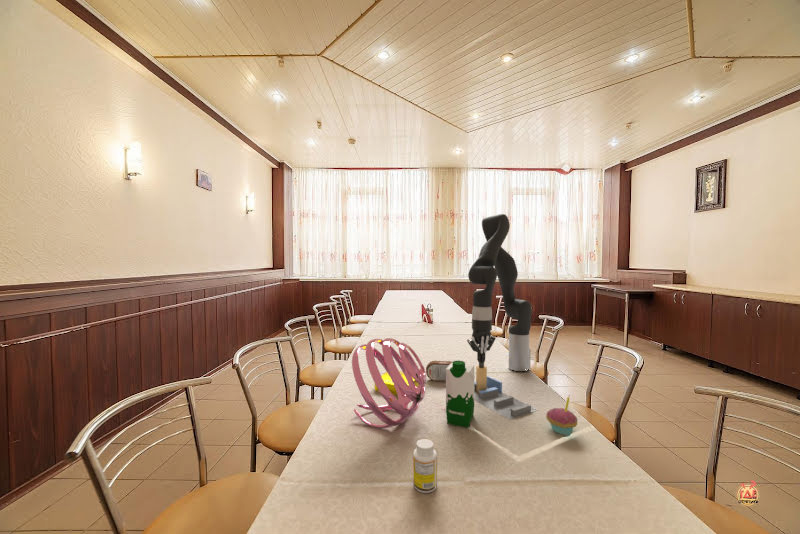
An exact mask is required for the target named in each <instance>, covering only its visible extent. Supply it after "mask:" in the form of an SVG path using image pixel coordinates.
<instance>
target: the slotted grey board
mask: <svg viewBox="0 0 800 534" xmlns="http://www.w3.org/2000/svg"><path fill="white" fill-rule="evenodd" d="M474 402H477V403H479V404H480V405H482V406H484V407H486V408H488V409H489V410H491V411H493V412H494V413H496V414H498V415H500V416H501V417H504V418H506V419H507V420H509V421H511V420H514V419H517V418H520V417H523V416H526V415H528V414H531V413H534V412H537V411H539V409H538V408H535V407H534V406H532V405H531V404H529V403H525V402H523V401H521V400H519V399H517V398H514V396H513V395H508V394H506V393H504V392H503V382H502V381H500V380H498V379H496V378H493V377H491V376H489V375H487V389H485V390H482V391H479V394H477V393H476V381H474Z"/></svg>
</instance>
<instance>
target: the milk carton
mask: <svg viewBox="0 0 800 534" xmlns="http://www.w3.org/2000/svg"><path fill="white" fill-rule="evenodd" d="M475 379H476V376H475V364H468V363H466V362H465V361H464V360H454V361H452V363H451V364H450V365H449V366H448V367H447V368H446V381H445V413H446V424H449V425H453V426H457V427H462V428H466V429H468V428H469V427H470V425H471V422H472V419H473V417H474V413H475V400H474V382H475Z"/></svg>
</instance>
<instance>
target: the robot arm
mask: <svg viewBox="0 0 800 534" xmlns="http://www.w3.org/2000/svg"><path fill="white" fill-rule="evenodd" d="M510 225H511V224H510V219H509V217H508V216H507V215H506V214H505V213H499V214H496V215H495V214H494V215H490V216H487V217H484V218H482V221H481V227H482V232H483V234H484V237H485V240H486V242H485V243H484V244H483V246H482V247H481V249H480V252H479V255H478V258H477V259H476V261H474V263H473V264H472V266H471V267H470V268H469V271H468V276H467V277H468V280H469V282H470V283H471V284H473V285H485V288H484V289H478V290H475V291H474V292H473V293H472V308H471V309H472V311H471V329H472V335H471V337H470V338H468V339H467V340H466V342H467V344H468V345H469V346H470V348H471V349H472V350H473V352H476V353H477V356H476V357H477V358H476V360H477V362H478V363H479V362H480V363H484V364H485V361H486V353H487V352H488V351H489V352H490V350H491V349H492V347H493V345H494V343H495V341H496V340H497V339H496V337H494V336H493V335H492V332H491V331H492V328H493V309H492V304H493V303H492V302H493V298H492V297H493V292H494V288H495V285H496V281H497V278H498V282H499V287H500V290H501V294H502V301H503V308H504V311H505V313H506V315H507V317H509V318H510V319H516V320H517V322H516V324H514V325H510V326H509V327H508V369H509V370H510V369H511V370H510V371H512V370H514V371H513V372H516V371H526V370H527V369H529V370H531V349H530V329H531V328H532V327H531V326H532V316H533V315H532V313H533V311H532V310H533V309H532V305H531V303H530V301H528V300H525V299H517V298H516V295H515V290H514V289H515V284H516V281H517V279H518V276H519V274H518V273H519V272H518V268H517V264H516V260H515V259H514V257H513V256H512V255H511V254H510V253H509V252H508V251H507V250H505V248H504V247H502V245H503V243H504V241H505V239H506V237H507V235H508V233H509V231H510V227H511V226H510ZM525 369H526V370H525Z"/></svg>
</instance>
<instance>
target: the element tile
mask: <svg viewBox="0 0 800 534" xmlns="http://www.w3.org/2000/svg"><path fill="white" fill-rule="evenodd" d="M399 372H400V374H401V376H402V377H403V379H404V380H405V382H406V383H407V384H408V382H407V380H406V377H405V375H404V373H403V372H402V370H401V371H400V370H399ZM381 377H382V379H383V380H384V382H385V384H386V386H387V387H388V389H389V390H390V392H391V393H392V395H393V394H394V395H393V396H398V394H397V391H396V389H395V386H394V384H393V382H392V380H391V378H390V376H389V374H388V373H387V371H385V373H382V374H381ZM412 378H413V377H412ZM413 381H414V383H415V386H416V387H418V385H419V384H418V383H417V382H416V381H415V380H414V379H413ZM408 385H409V384H408ZM375 390H376V391H375ZM374 391H375V392H378V391H379V390H378V388H377V386H376V384H375V383H374Z"/></svg>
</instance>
